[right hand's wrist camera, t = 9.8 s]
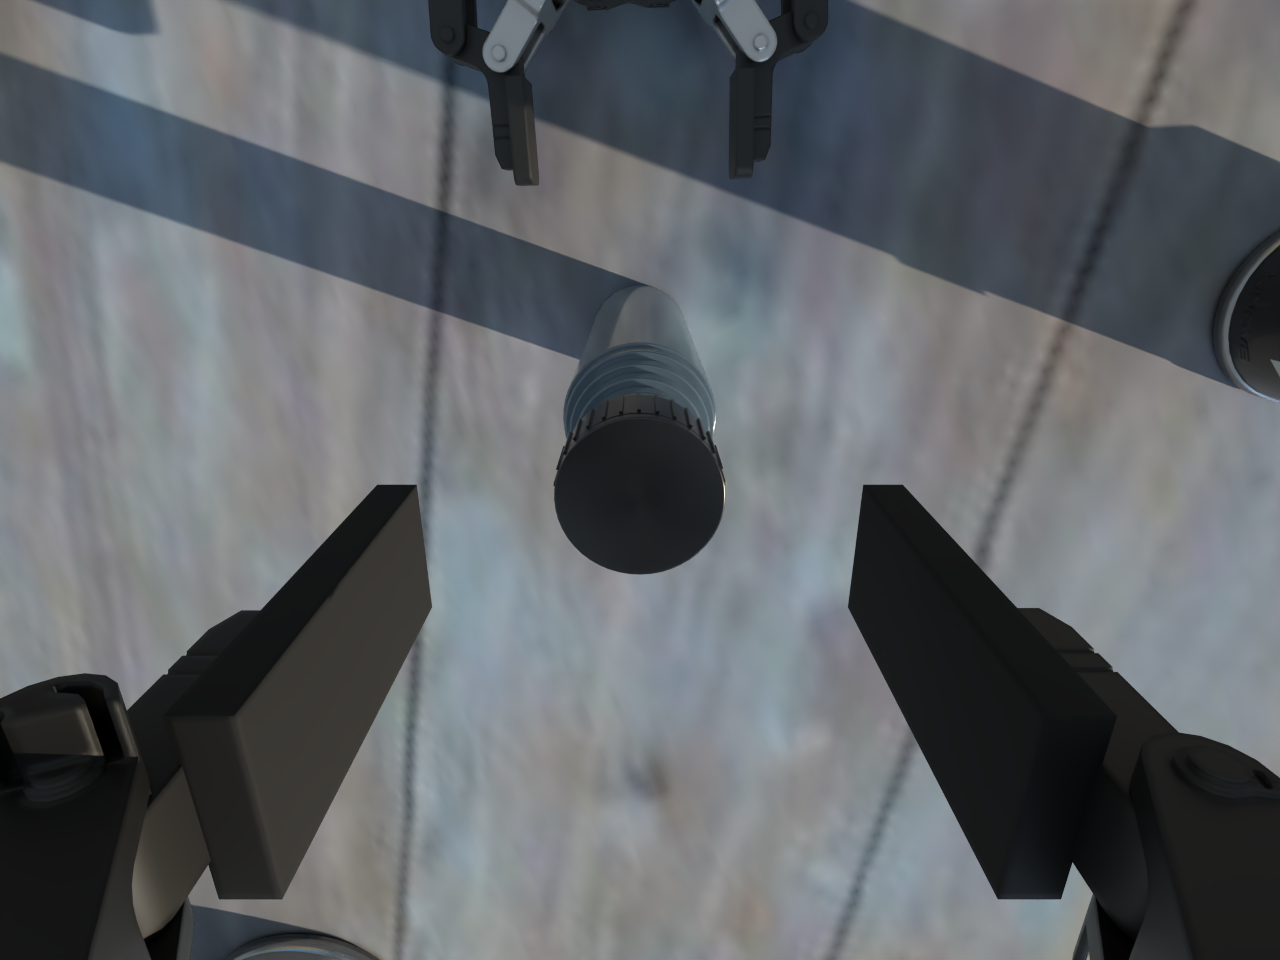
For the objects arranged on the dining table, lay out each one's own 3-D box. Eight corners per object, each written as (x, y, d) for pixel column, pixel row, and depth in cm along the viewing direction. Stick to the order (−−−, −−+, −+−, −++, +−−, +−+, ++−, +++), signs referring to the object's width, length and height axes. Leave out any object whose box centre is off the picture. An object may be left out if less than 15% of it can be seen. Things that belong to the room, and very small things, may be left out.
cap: (564, 539, 19) (556, 577, 17) (557, 391, 17) (547, 415, 15) (715, 538, 19) (724, 576, 17) (721, 390, 17) (731, 413, 15)
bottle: (595, 378, 38) (543, 583, 17) (592, 285, 36) (530, 393, 16) (685, 377, 38) (737, 582, 17) (686, 284, 36) (747, 392, 16)
